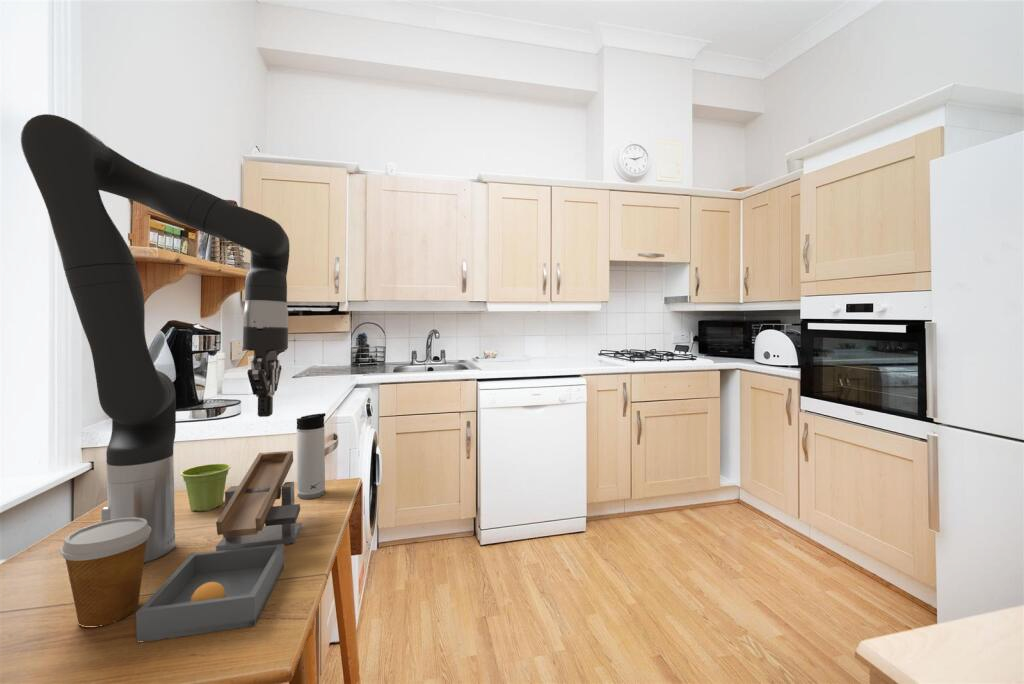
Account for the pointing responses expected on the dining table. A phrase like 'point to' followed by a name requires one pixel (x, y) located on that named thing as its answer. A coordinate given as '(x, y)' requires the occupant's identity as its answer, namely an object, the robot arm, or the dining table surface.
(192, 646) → the dining table surface
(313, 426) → the travel mug
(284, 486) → the stand
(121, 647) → the dining table surface
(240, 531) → the lever
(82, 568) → the disposable coffee cup
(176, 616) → the bin
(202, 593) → the ball
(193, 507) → the plant pot
